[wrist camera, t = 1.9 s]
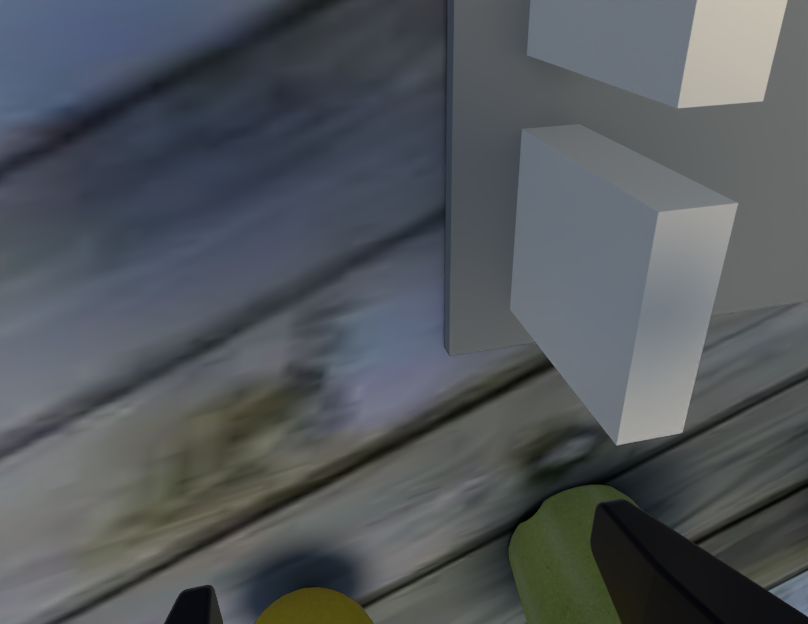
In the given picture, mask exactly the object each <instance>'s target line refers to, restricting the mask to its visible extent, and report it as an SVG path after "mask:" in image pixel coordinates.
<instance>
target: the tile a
mask: <svg viewBox="0 0 808 624" xmlns="http://www.w3.org/2000/svg"><path fill="white" fill-rule="evenodd" d="M737 206H738V203H737V202H735V201H733V200H731V199H729V198H727V197H725V196H723V195H721V194H719V193H717V192H715V191H713V190H711V189H709V188H707V187H705V186H703V185H701V184H699V183H697V182H695V181H693V180H691V179H689V178H687V177H685V176H683V175H681V174H679V173H677V172H675V171H673V170H671V169H669V168H667V167H665V166H663V165H661V164H659V163H657V162H655V161H653V160H651V159H649V158H647V157H645V156H643V155H641V154H639V153H637V152H635V151H633V150H631V149H629V148H627V147H625V146H623V145H621V144H619V143H617V142H615V141H613V140H611V139H609V138H607V137H605V136H603V135H601V134H599V133H596V132H594V131H592V130H590V129H588V128H586V127H584V126H582V125H580V124H573V125H561V126H549V127H537V128H526V129H522V135H521V150H520V165H519V181H518V196H517V211H516V226H515V241H514V256H513V271H512V286H511V301H510V310H511V311H512V313H513V314H514V315H515V317H516V318H517V319H518V320H519V322H520V323H521V324H522V326H523V327H524V328H525V329H526V331H527V332H528V333H529V334H530V336H531V337H532V338H533V340H534V341H535V342H536V343H537V345H538V346H539V347H540V349H541V350H542V351H543V352H544V354H545V355H546V356H547V357H548V359H549V360H550V361H551V363H552V364H553V365H554V366H555V368H556V369H557V370H558V371H559V373H560V374H561V375H562V377H563V378H564V379H565V380H566V382H567V383H568V384H569V386H570V387H571V388H572V389H573V391H574V392H575V393H576V394H577V396H578V397H579V398H580V400H581V401H582V402H583V403H584V405H585V406H586V407H587V409H588V410H589V411H590V412H591V414H592V415H593V416H594V417H595V419H596V420H597V421H598V423H599V424H600V425H601V426H602V428H603V429H604V430H605V432H606V433H607V434H608V435H609V437H610V438H611V439H612V440H613V442H614V443H615V444H616V445H621V444H627V443H632V442H637V441H642V440H648V439H653V438H658V437H663V436H669V435H674V434H679V433H682V432H683V428H684V424H685V420H686V416H687V412H688V408H689V403H690V399H691V395H692V391H693V387H694V383H695V379H696V375H697V371H698V366H699V362H700V358H701V354H702V350H703V346H704V342H705V338H706V334H707V329H708V325H709V321H710V317H711V313H712V309H713V305H714V301H715V297H716V292H717V288H718V284H719V280H720V276H721V272H722V268H723V264H724V260H725V256H726V251H727V247H728V243H729V239H730V235H731V231H732V227H733V223H734V219H735V214H736V210H737Z"/></svg>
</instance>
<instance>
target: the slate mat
mask: <svg viewBox="0 0 808 624" xmlns="http://www.w3.org/2000/svg"><path fill="white" fill-rule="evenodd" d="M529 15H530V0H447V106H446V216H445V326H444V347H445V349H446V351H447V353H448V355H449V356H453V355H460V354H466V353H473V352H480V351H486V350H493V349H499V348H506V347H512V346H519V345H525V344H532V343H536V342H535V341H534V340H533V338H532V337H531V336H530V334H529V333H528V332H527V331H526V329H525V328H524V327H523V326H522V324H521V323H520V322H519V320H518V319H517V318H516V317H515V315H514V314H513V313H512V311H511V310H510V301H511V286H512V271H513V256H514V241H515V226H516V211H517V196H518V181H519V165H520V150H521V135H522V129H526V128H537V127H549V126H561V125H573V124H580V125H582V126H584V127H586V128H588V129H590V130H592V131H594V132H596V133H599V134H601V135H603V136H605V137H607V138H609V139H611V140H613V141H615V142H617V143H619V144H621V145H623V146H625V147H627V148H629V149H631V150H633V151H635V152H637V153H639V154H641V155H643V156H645V157H647V158H649V159H651V160H653V161H655V162H657V163H659V164H661V165H663V166H665V167H667V168H669V169H671V170H673V171H675V172H677V173H679V174H681V175H683V176H685V177H687V178H689V179H691V180H693V181H695V182H697V183H699V184H701V185H703V186H705V187H707V188H709V189H711V190H713V191H715V192H717V193H719V194H721V195H723V196H725V197H727V198H729V199H731V200H733V201H735V202H737V203H738V206H737V210H736V214H735V219H734V223H733V227H732V231H731V235H730V239H729V243H728V247H727V251H726V256H725V260H724V264H723V268H722V272H721V276H720V280H719V284H718V288H717V292H716V297H715V301H714V305H713V309H712V313H711V316H715V315H722V314H729V313H735V312H742V311H748V310H755V309H761V308H768V307H774V306H781V305H787V304H794V303H801V302H807V301H808V0H788V1H787V5H786V9H785V13H784V17H783V21H782V25H781V29H780V34H779V38H778V42H777V46H776V50H775V54H774V58H773V62H772V66H771V71H770V75H769V79H768V83H767V87H766V91H765V95H764V99H763V101H761V102H749V103H737V104H725V105H713V106H701V107H688V108H675V107H672V106H669V105H666V104H663V103H661V102H658V101H655V100H652V99H649V98H646V97H644V96H641V95H638V94H635V93H632V92H630V91H627V90H624V89H621V88H618V87H615V86H613V85H610V84H607V83H604V82H601V81H598V80H596V79H593V78H590V77H587V76H584V75H581V74H579V73H576V72H573V71H570V70H567V69H565V68H562V67H559V66H556V65H553V64H550V63H548V62H545V61H542V60H539V59H536V58H533V57H531V56H528V55H527V45H528V30H529Z"/></svg>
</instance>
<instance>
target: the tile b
mask: <svg viewBox="0 0 808 624" xmlns="http://www.w3.org/2000/svg"><path fill="white" fill-rule="evenodd" d="M787 1H788V0H530V15H529V30H528V45H527V55H528V56H531V57H533V58H536V59H539V60H542V61H545V62H548V63H550V64H553V65H556V66H559V67H562V68H565V69H567V70H570V71H573V72H576V73H579V74H581V75H584V76H587V77H590V78H593V79H596V80H598V81H601V82H604V83H607V84H610V85H613V86H615V87H618V88H621V89H624V90H627V91H630V92H632V93H635V94H638V95H641V96H644V97H646V98H649V99H652V100H655V101H658V102H661V103H663V104H666V105H669V106H672V107H675V108H688V107H701V106H713V105H725V104H737V103H749V102H761V101H763V99H764V95H765V91H766V87H767V83H768V79H769V75H770V71H771V66H772V62H773V58H774V54H775V50H776V46H777V42H778V38H779V34H780V29H781V25H782V21H783V17H784V13H785V9H786V5H787Z"/></svg>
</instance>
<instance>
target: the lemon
mask: <svg viewBox="0 0 808 624" xmlns="http://www.w3.org/2000/svg"><path fill="white" fill-rule="evenodd" d="M254 624H374V623H373V621H372V620H371V619H370V617H369V616H368V615H367V613H366V612H365V611H364V609H363V608H362V607H361V606H360V605H359V604H358V603H357V602H355V601H354V600H352V599H351V598H349V597H348V596H346V595H345V594H343V593H340V592H337V591H334V590H331V589H328V588H320V587H313V588H301V589H299V590H296V591H293V592H291V593H288V594H286V595H284V596H282V597H280V598H279V599H277V600H276V601H274V602H273V603H272V604H271V605H270V606H269V607H268V608H266V609H265V610H264V611H263V612H262V613H261V615H260V616H259V617H258V618H257V620H256V621H255V623H254Z"/></svg>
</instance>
